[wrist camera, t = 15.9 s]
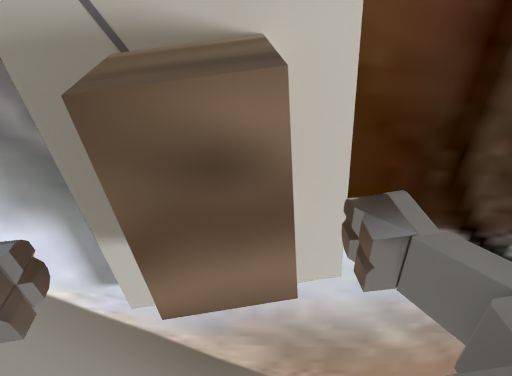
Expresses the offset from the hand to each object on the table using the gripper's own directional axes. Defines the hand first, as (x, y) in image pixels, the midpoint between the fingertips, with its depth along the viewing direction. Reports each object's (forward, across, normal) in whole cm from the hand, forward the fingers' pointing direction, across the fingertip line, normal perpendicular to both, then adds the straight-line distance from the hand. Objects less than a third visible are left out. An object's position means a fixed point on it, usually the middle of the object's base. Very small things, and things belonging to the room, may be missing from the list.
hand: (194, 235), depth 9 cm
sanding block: (+7, 0, +2) cm, 8 cm away
